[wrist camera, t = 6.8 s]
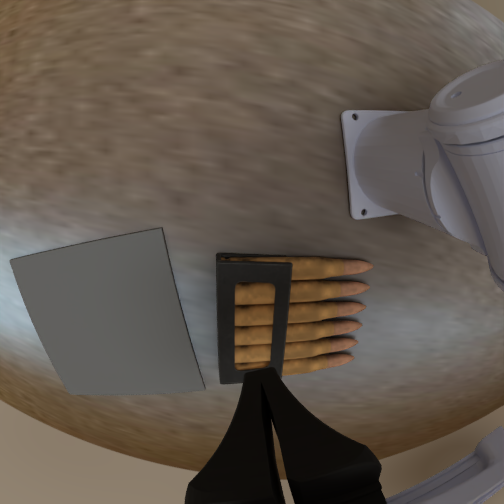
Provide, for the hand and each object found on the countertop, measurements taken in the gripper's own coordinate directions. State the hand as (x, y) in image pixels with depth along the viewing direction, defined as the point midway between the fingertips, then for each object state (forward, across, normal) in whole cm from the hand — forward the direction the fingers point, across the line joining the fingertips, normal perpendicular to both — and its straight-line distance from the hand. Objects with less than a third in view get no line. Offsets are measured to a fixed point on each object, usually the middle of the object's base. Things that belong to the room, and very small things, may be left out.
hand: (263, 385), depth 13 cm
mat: (+11, +13, +1) cm, 16 cm away
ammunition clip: (+9, +3, +2) cm, 10 cm away
